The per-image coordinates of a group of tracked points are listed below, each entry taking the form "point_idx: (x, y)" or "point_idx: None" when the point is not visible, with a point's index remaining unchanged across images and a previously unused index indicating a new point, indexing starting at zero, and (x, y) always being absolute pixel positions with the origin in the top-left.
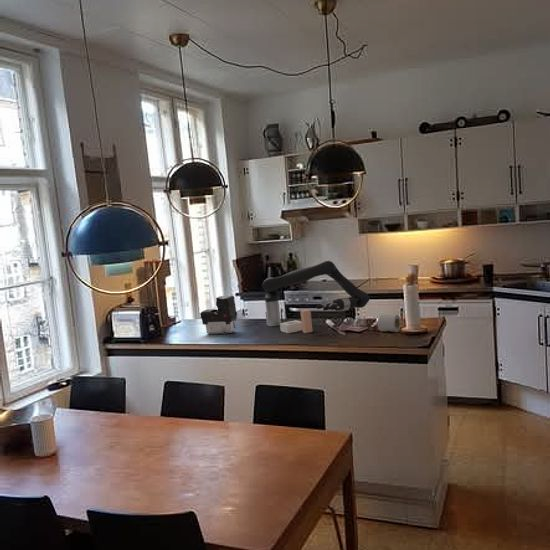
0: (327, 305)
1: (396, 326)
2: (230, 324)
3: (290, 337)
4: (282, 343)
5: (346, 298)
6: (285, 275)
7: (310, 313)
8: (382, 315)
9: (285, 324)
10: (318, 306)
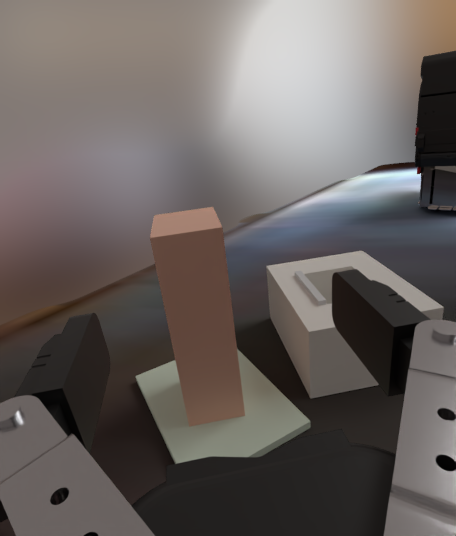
0: (306, 449)
1: None
2: (439, 177)
3: None
4: (116, 292)
5: None
6: None
7: (157, 270)
8: None
9: (305, 263)
10: (347, 299)
